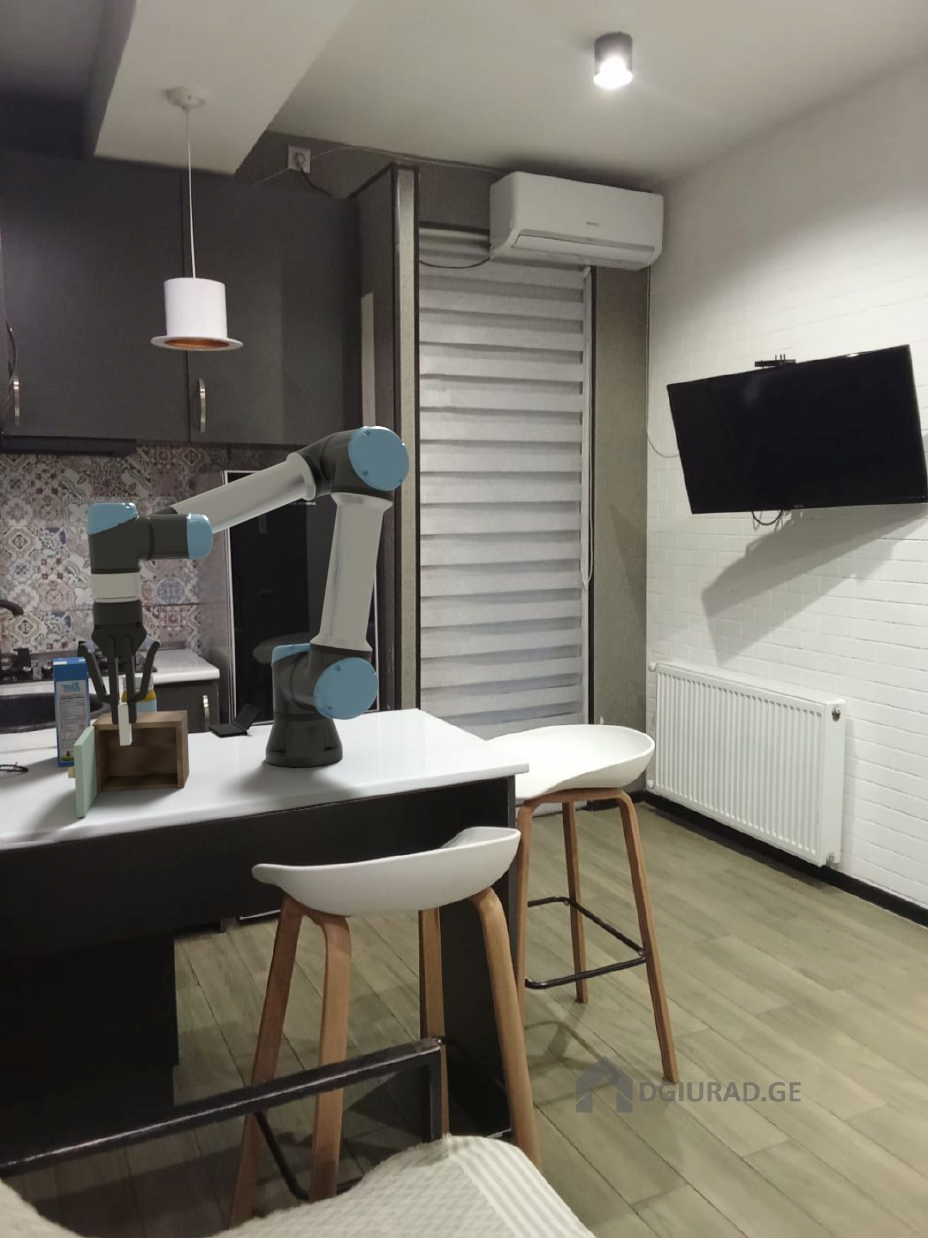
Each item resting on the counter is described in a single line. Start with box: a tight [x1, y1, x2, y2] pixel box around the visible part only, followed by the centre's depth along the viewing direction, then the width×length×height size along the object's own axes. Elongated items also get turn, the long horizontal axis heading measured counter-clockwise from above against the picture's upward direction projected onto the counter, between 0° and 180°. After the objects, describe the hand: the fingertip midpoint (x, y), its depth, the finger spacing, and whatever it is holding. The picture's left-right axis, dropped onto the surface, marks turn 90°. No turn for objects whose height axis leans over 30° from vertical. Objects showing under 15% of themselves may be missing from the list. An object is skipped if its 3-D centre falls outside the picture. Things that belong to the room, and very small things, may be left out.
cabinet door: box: [67, 725, 98, 818], centre depth 159 cm, size 15×2×12 cm, turn 13°
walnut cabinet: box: [91, 709, 190, 793], centre depth 173 cm, size 15×10×12 cm, turn 101°
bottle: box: [120, 672, 158, 712], centre depth 203 cm, size 7×7×15 cm
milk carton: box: [52, 656, 92, 768], centre depth 190 cm, size 10×6×20 cm, turn 23°
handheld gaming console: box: [207, 702, 261, 738], centre depth 217 cm, size 12×7×10 cm
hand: (126, 743), depth 156 cm, fingers closed
